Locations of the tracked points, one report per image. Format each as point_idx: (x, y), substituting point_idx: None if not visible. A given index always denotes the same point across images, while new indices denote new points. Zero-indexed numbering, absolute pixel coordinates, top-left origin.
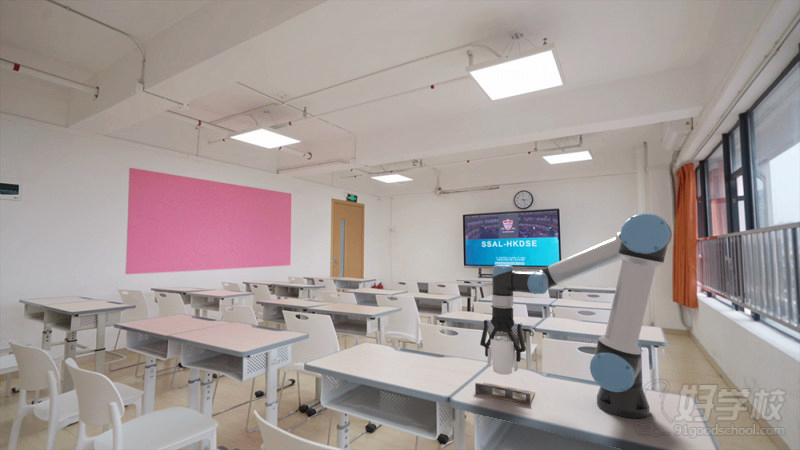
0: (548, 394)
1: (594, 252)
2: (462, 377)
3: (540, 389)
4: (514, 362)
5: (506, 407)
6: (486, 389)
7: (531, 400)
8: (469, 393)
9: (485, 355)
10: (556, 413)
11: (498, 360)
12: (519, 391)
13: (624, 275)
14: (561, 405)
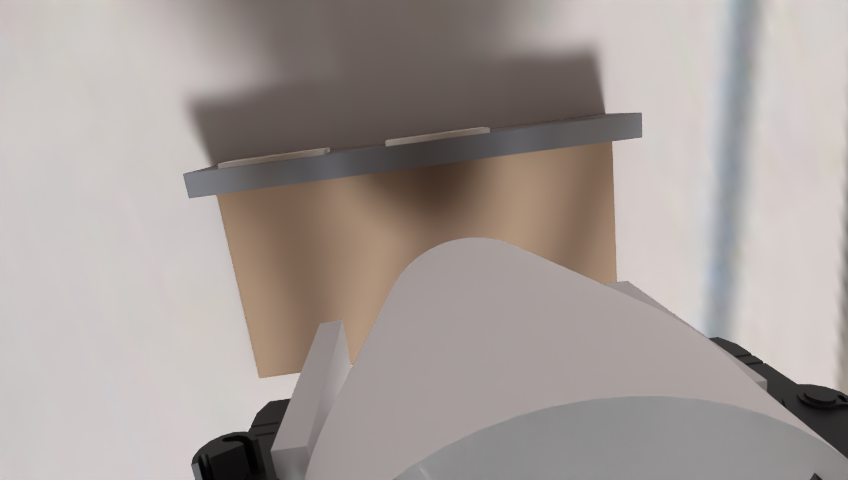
0: (188, 416)
1: None
2: (782, 344)
3: None
4: (325, 364)
5: (329, 14)
6: (535, 125)
7: (226, 230)
8: (644, 91)
9: (728, 343)
10: (19, 139)
11: (508, 256)
12: (271, 174)
13: None
14: (50, 292)
